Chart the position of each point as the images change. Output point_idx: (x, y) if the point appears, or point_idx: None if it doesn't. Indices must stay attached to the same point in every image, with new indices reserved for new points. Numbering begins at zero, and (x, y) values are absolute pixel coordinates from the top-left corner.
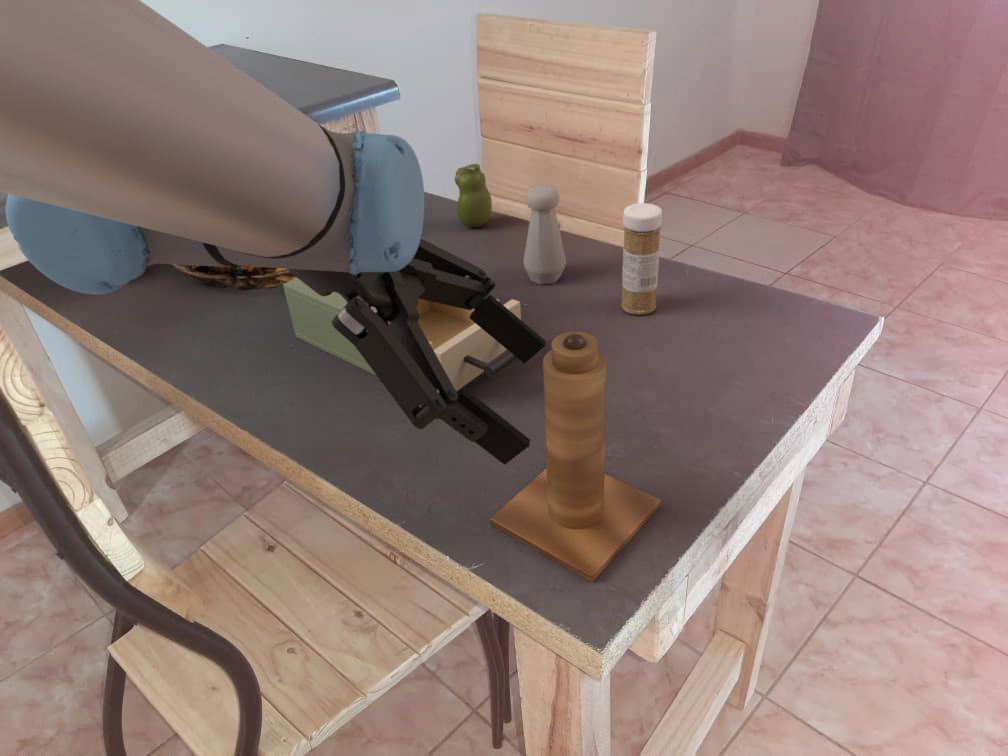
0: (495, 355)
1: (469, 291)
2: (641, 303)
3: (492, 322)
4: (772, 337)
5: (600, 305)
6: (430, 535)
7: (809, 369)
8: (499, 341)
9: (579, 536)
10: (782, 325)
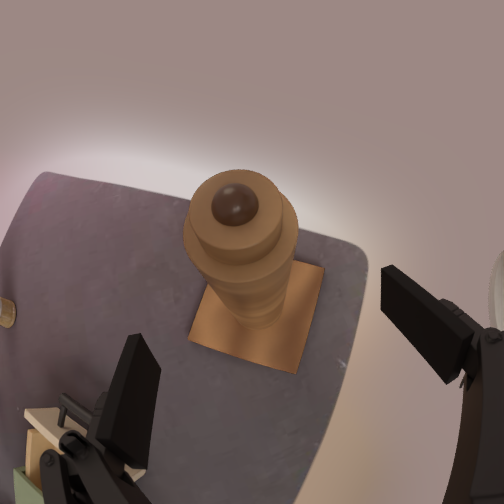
0: (79, 430)
1: (119, 485)
2: (8, 308)
3: (137, 426)
4: (40, 216)
5: (9, 345)
6: (324, 416)
7: (70, 188)
8: (153, 409)
9: (288, 291)
10: (32, 214)
